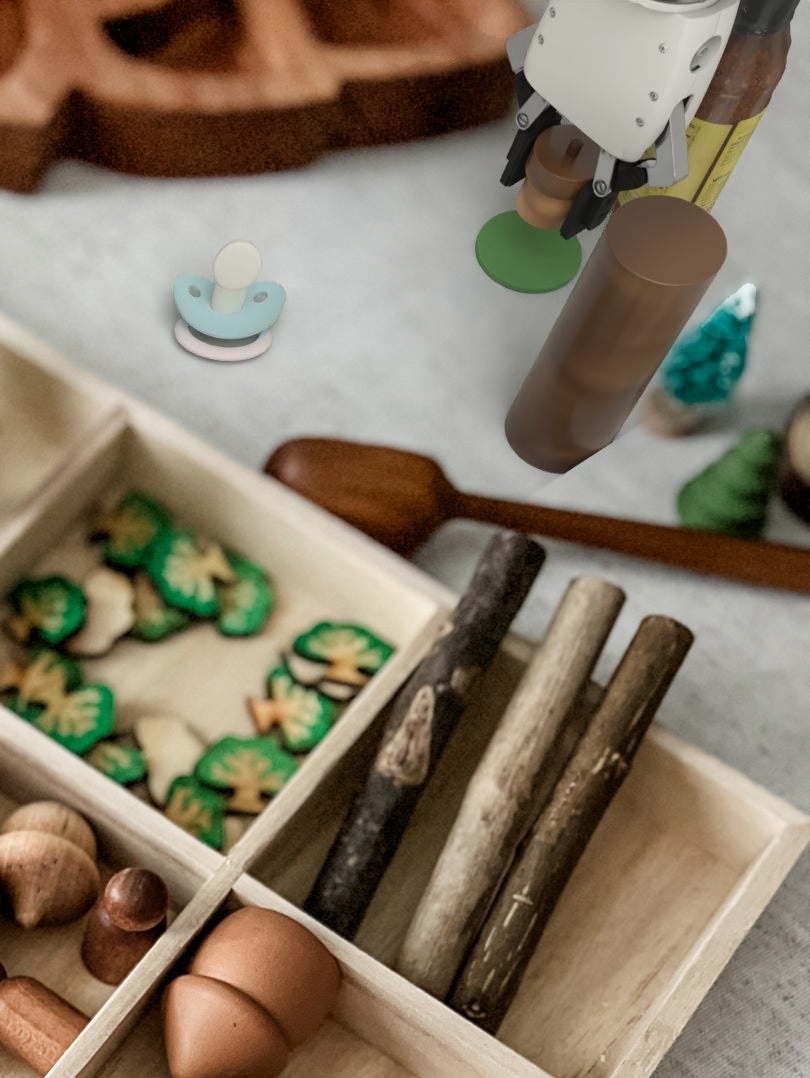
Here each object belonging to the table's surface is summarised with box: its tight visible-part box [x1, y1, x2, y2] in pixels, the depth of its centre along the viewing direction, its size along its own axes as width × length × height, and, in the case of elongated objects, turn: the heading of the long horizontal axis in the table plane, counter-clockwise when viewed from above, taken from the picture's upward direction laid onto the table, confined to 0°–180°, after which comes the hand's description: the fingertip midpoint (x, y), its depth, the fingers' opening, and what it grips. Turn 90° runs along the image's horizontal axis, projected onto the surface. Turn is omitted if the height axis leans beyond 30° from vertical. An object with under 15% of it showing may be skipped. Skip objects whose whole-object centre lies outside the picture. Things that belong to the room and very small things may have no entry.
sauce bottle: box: [612, 0, 801, 214], centre depth 106 cm, size 7×6×20 cm
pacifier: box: [172, 238, 287, 362], centre depth 109 cm, size 7×6×6 cm
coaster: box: [474, 209, 583, 294], centre depth 114 cm, size 7×7×1 cm
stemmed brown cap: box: [515, 123, 601, 230], centre depth 108 cm, size 5×5×5 cm
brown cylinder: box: [504, 195, 728, 474], centre depth 101 cm, size 7×7×16 cm
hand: (549, 199), depth 110 cm, fingers closed on stemmed brown cap, 4 cm apart
